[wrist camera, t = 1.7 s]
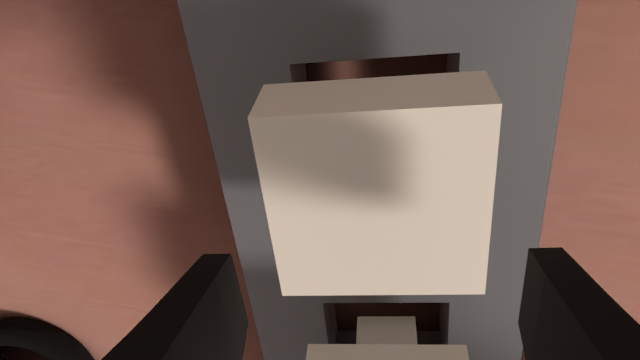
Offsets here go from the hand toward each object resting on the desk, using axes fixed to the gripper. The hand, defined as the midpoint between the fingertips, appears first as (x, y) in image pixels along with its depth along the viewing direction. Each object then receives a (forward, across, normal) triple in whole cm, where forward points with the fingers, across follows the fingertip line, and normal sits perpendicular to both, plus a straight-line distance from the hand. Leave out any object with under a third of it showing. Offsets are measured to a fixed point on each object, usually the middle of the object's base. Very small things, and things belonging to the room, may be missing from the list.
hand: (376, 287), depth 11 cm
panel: (+10, 0, +5) cm, 11 cm away
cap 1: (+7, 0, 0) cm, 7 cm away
